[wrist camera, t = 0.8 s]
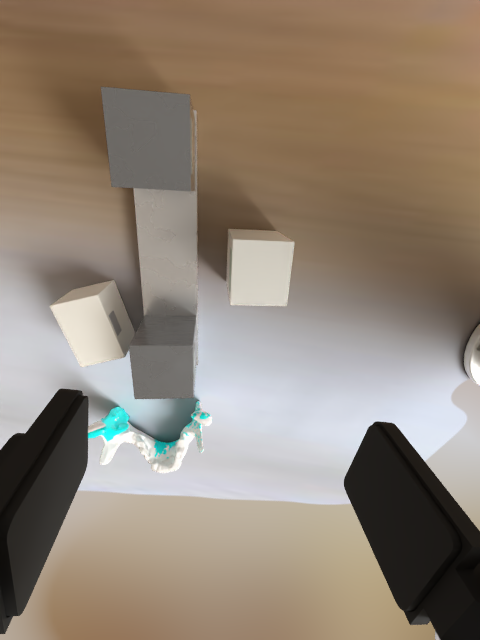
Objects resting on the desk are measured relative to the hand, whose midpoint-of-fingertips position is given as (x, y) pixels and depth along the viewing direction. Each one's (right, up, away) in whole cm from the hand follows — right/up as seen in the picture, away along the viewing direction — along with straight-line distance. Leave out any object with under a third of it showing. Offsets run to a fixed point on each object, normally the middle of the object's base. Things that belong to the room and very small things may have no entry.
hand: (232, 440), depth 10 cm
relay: (-13, +5, +19) cm, 24 cm away
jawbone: (-9, -7, +25) cm, 28 cm away
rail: (-6, +10, +18) cm, 21 cm away
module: (+1, +10, +18) cm, 21 cm away
